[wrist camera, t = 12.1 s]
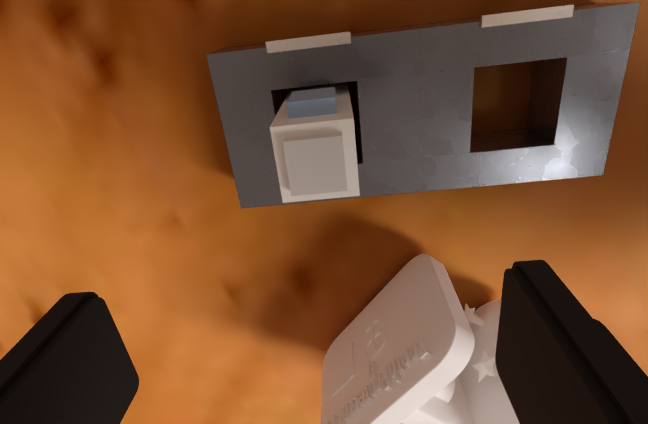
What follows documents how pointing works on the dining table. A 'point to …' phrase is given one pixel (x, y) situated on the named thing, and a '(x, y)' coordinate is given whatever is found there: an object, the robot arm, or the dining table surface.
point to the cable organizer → (416, 357)
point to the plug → (316, 144)
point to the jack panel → (437, 99)
